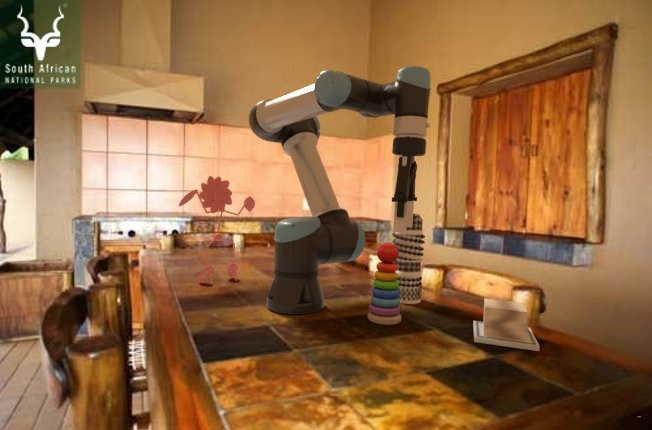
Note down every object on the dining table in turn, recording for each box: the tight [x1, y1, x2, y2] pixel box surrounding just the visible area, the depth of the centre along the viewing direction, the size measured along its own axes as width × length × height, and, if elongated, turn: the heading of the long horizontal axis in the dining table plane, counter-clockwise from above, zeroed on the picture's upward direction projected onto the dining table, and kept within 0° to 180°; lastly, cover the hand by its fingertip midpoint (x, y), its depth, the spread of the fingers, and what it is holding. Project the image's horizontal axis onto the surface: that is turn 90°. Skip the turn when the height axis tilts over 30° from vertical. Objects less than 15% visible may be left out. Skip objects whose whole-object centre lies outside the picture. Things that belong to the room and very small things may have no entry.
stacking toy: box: [367, 242, 402, 326], centre depth 93 cm, size 8×8×19 cm
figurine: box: [178, 175, 256, 285], centre depth 133 cm, size 15×26×35 cm, turn 135°
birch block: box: [482, 297, 529, 341], centre depth 85 cm, size 8×8×6 cm
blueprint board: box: [472, 320, 540, 352], centre depth 85 cm, size 12×12×1 cm
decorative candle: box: [391, 213, 426, 305], centre depth 113 cm, size 9×9×25 cm
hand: (403, 229), depth 92 cm, fingers open, 13 cm apart
